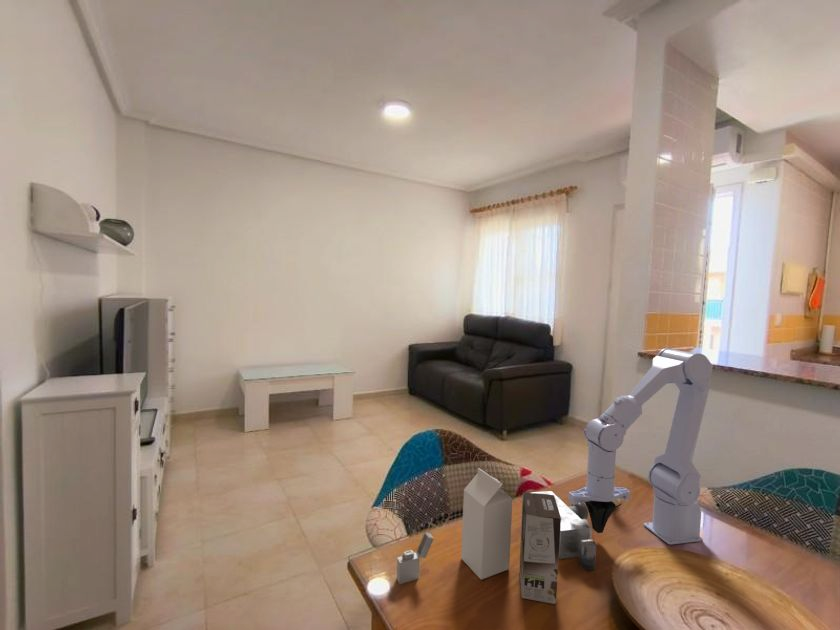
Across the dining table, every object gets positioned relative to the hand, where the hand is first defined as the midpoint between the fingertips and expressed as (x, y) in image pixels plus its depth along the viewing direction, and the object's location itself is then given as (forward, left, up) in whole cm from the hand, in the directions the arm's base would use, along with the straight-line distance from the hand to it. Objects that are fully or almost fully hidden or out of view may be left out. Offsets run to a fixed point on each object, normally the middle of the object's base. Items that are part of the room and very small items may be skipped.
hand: (597, 530), depth 91 cm
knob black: (+3, -7, -1) cm, 8 cm away
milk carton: (+29, +3, -3) cm, 29 cm away
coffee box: (+21, +10, -3) cm, 23 cm away
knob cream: (+7, 0, -1) cm, 7 cm away
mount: (+9, -3, -2) cm, 10 cm away
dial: (+8, +7, -2) cm, 11 cm away
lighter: (+44, +4, -3) cm, 44 cm away
